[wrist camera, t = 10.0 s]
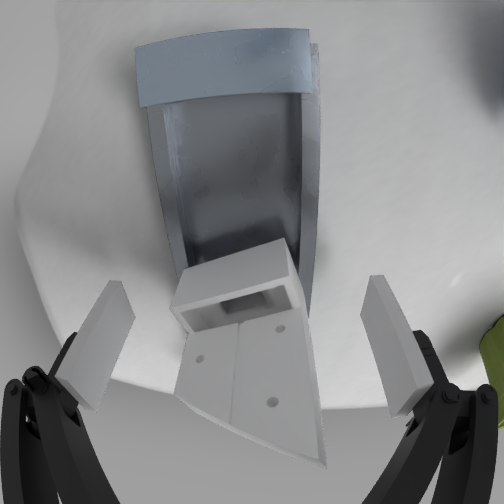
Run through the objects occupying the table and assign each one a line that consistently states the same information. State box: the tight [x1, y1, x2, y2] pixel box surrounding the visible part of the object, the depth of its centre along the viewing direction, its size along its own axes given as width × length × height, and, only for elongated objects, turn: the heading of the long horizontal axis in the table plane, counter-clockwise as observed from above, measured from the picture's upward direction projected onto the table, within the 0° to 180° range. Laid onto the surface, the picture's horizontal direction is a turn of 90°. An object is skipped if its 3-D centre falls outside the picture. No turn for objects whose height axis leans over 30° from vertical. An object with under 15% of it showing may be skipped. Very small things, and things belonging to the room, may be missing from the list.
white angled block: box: [169, 238, 327, 468], centre depth 12 cm, size 4×10×9 cm, turn 111°
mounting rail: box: [135, 28, 320, 319], centre depth 15 cm, size 24×8×5 cm, turn 3°
